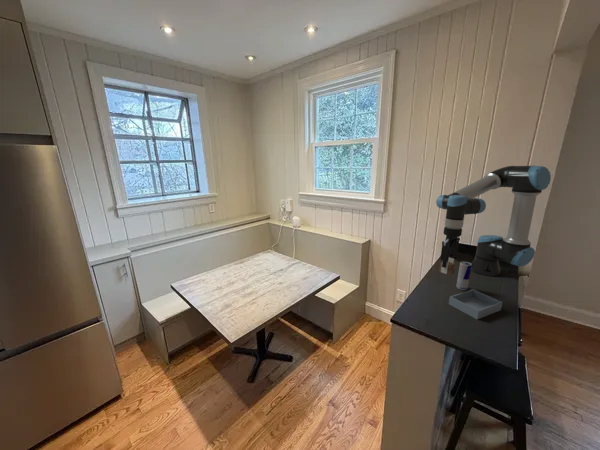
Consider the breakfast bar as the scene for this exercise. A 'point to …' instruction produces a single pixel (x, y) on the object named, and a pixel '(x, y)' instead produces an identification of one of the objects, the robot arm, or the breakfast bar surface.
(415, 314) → the breakfast bar surface
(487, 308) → the tote
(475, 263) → the robot arm
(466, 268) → the beverage can
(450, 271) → the walnut cube
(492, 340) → the breakfast bar surface
